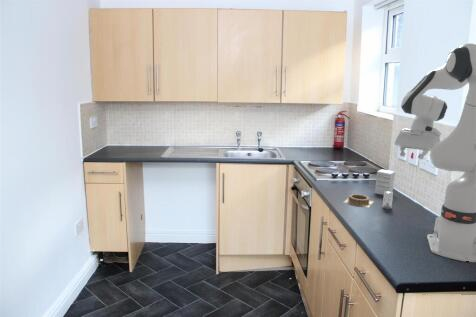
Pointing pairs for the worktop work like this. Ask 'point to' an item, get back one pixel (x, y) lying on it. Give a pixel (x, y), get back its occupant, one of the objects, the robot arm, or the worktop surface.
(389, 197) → the peg
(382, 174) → the supplement box
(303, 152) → the worktop surface
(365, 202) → the brown cake on plate
